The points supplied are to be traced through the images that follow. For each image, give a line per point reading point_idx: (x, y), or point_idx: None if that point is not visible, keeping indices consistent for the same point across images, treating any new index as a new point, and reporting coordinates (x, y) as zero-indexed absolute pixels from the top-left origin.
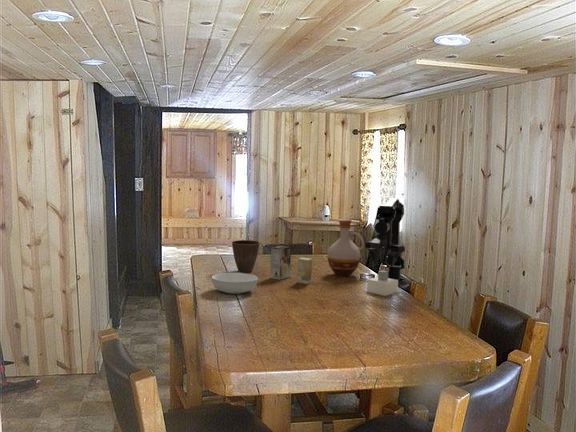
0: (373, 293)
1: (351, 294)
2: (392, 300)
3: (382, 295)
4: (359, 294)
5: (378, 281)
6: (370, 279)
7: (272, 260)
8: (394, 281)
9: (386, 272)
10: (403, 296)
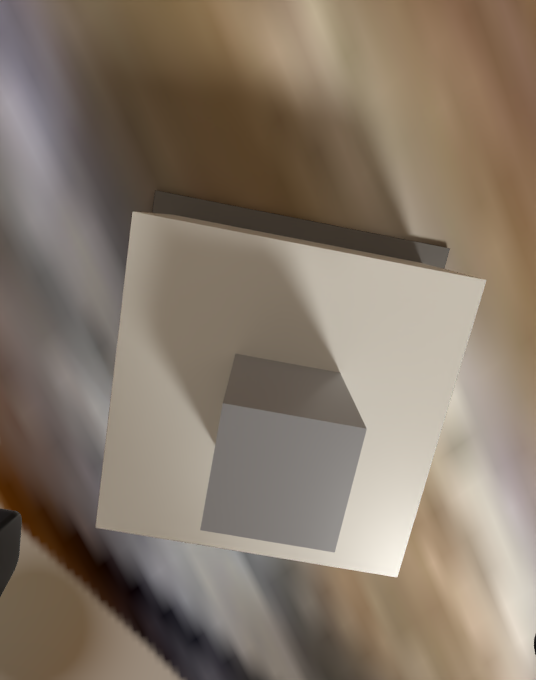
0: (324, 227)
1: (533, 15)
2: (18, 77)
3: (203, 207)
4: (449, 88)
5: (275, 242)
6: (438, 297)
7: None
8: (107, 438)
9: (211, 474)
10: (25, 342)
